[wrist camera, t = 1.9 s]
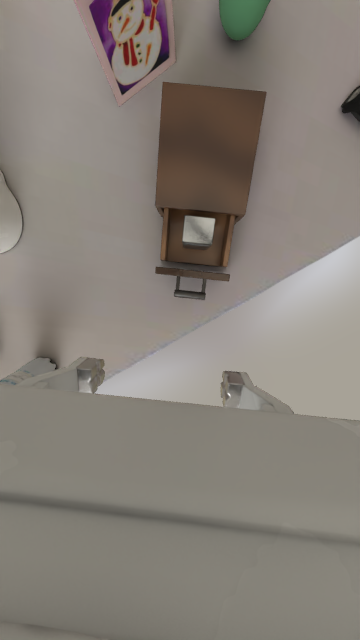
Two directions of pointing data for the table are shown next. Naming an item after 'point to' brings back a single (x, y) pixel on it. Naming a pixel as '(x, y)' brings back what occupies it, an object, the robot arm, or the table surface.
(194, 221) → the grey block
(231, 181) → the cabinet
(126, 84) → the greeting card
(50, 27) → the table surface
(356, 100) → the electric trimmer
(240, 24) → the alien toy
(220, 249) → the drawer
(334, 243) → the table surface
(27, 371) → the bottle
